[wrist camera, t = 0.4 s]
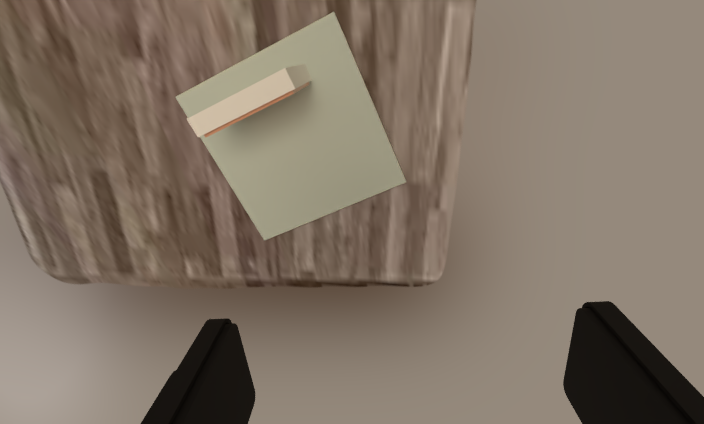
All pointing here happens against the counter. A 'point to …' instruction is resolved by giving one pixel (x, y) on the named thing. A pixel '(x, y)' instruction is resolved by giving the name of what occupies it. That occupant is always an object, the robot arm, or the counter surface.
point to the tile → (250, 100)
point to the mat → (300, 133)
